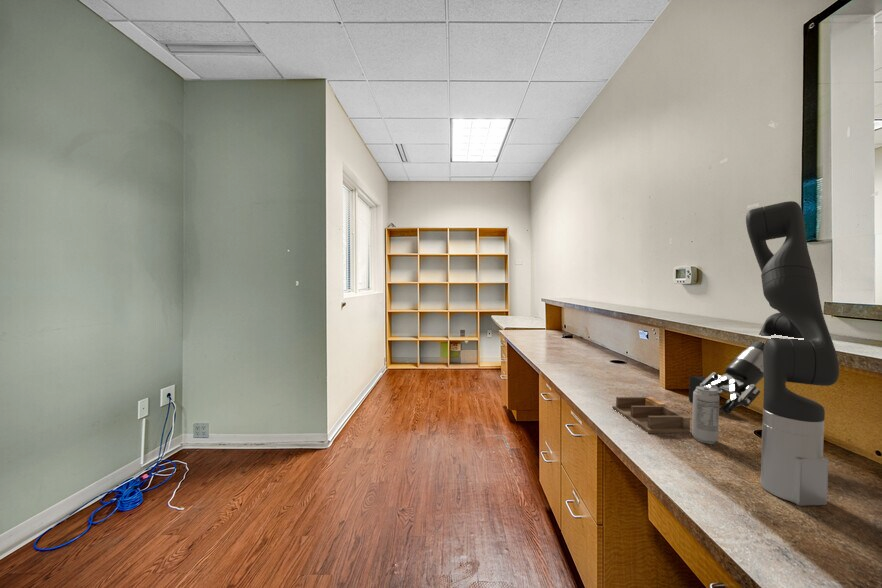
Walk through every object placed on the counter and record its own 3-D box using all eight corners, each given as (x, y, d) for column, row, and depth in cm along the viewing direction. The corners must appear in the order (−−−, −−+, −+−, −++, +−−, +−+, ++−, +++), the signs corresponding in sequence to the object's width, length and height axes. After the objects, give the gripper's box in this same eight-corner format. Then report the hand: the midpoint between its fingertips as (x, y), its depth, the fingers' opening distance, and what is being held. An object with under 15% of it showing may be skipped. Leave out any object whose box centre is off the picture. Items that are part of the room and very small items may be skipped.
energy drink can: (716, 438, 101) (718, 387, 100) (719, 446, 96) (721, 393, 95) (691, 433, 104) (692, 384, 103) (692, 441, 99) (694, 389, 98)
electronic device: (700, 401, 132) (701, 375, 132) (718, 411, 123) (719, 383, 122) (688, 401, 133) (689, 375, 133) (705, 410, 123) (706, 382, 123)
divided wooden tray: (689, 432, 105) (690, 416, 105) (648, 433, 104) (648, 417, 104) (647, 408, 125) (647, 395, 125) (612, 408, 124) (612, 395, 124)
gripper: (720, 352, 107) (683, 389, 106) (765, 363, 92) (723, 406, 92) (736, 369, 107) (699, 406, 107) (783, 382, 93) (741, 425, 93)
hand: (710, 406), depth 100 cm, fingers open, 8 cm apart
